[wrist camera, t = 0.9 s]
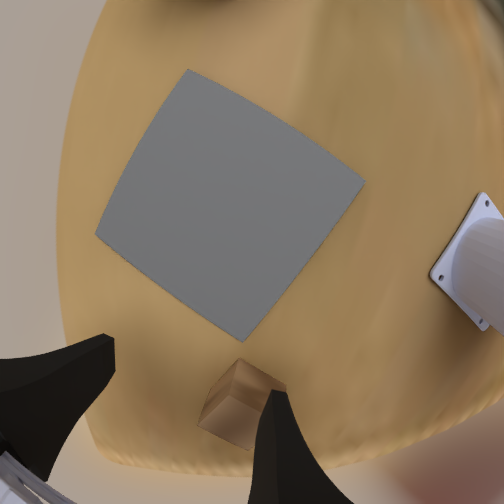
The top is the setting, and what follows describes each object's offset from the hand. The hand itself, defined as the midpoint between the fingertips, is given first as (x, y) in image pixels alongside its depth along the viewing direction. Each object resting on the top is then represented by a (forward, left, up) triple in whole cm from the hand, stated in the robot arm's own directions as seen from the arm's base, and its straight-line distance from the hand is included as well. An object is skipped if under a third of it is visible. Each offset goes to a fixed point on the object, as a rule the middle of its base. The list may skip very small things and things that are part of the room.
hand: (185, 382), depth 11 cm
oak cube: (-6, +6, -9) cm, 13 cm away
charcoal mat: (+4, -5, -9) cm, 11 cm away
